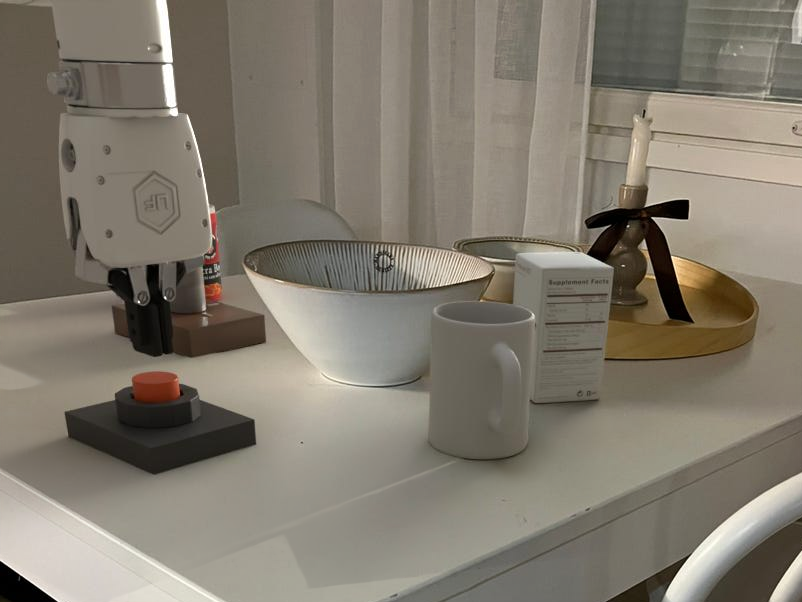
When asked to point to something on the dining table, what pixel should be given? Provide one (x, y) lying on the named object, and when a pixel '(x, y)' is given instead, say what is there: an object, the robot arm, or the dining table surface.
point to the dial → (190, 294)
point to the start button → (155, 386)
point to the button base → (160, 430)
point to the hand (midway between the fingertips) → (153, 351)
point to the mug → (480, 378)
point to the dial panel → (207, 328)
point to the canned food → (212, 264)
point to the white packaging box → (565, 322)
